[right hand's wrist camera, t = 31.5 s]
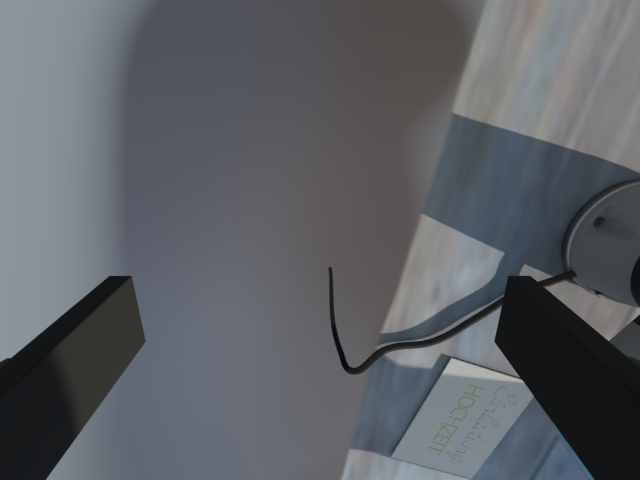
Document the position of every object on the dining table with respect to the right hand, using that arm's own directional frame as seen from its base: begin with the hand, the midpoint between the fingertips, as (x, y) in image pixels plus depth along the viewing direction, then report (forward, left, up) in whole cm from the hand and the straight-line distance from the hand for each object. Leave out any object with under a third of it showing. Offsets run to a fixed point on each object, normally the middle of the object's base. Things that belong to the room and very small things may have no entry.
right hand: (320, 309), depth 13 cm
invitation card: (+10, -45, -31) cm, 56 cm away
